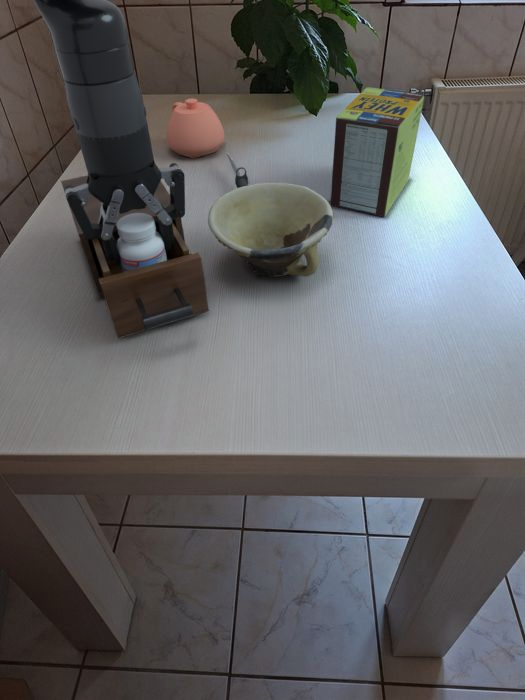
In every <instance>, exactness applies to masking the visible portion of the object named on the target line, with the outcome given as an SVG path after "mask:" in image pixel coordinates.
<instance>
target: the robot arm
mask: <svg viewBox="0 0 525 700" xmlns="http://www.w3.org/2000/svg"><path fill="white" fill-rule="evenodd" d="M33 2H34V4H35V6H36V8H37V10H38V11H39V13H40V15H41V17H42V19H43V20H44V22H45V24H46V26H47V27H48V29H49V32H50V35H51V39H52V41H53V42H52V43H53V47H54V51H55V54H56V56H57V61H58V64H59V68H60V73H61V76H62V78H63V82H64V88H65V93H66V94H65V95H66V100H67V105H68V109H69V112H70V116H71V121H72V124H73V127H74V129H75V133H76V136H77V140H78V143H79V146H80V150H81V155H82V157H83V161H84V164H85V167H86V168H85V169H86V172H87V175H88V178H87V182H86V184H83V185H80V186H77V187H73V186H70V185H68V186H66V187H65V188H64V189H63V192H64V195H65V198H66V201H67V204H68V203H69V204H68V206H69V205H70V207H71V209H72V212H73V214H74V216H75V218H76V220H77V222H78V224H79V226H80V228H81V230H82V232H83V234H84V236H85V238H86V239H88V240H91V239H93V238H99V239H101V240H102V242H103V245H104V249H105V252H106V255H107V257H108V259H109V260H110V261H113V260H114V262H115V264H118V263H121V261H120V258H119V254H118V250H117V247H116V243H115V239H114V237H113V235H112V232H113V228H114V225H115V224H116V222H117V218H118V214H119V213H120V214H122V213H127V212H128V211H130V210H133V209H144V208H146V207H145V206H148V207H149V208H150V209H151V210H152V212H153V213H154V214H155V215H156V216H157V217H158V218H159V219H158V224H159V229H160V234H161V236H162V238H163V241H164V245H165V250H166V251H168V250H172V248H171V245H174V243H175V238H174V233H173V227H172V222H173V220H174V219H176V218H177V217H179V218H181V219H182V218H183V217H185V215H186V188H185V187H186V184H185V180H186V179H185V172H184V171H183V170H182V168H181V167H180V166H179V164H178V163H176V162H172V163H170V164H169V166H168V167H167V166H165V167H158V165H157V164H156V162H155V158H154V151H153V147H152V146H153V145H152V141H151V137H150V136H151V135H150V130H149V125H148V124H149V123H148V120H147V108H146V106H145V104H144V99H143V98H144V97H143V93H142V91H141V87H140V84H139V81H138V78H137V74H136V69H135V64H134V60H133V53H132V49H131V43H130V38H129V33H128V29H127V24H126V20H125V17H124V14H123V12H122V10H121V9H120V8H119V7H118V6H117V4H115V3H113V2H111V1H110V0H33ZM162 179H163V180H164V182H165V184H166V185H167V186H168V187H169V194H170V205H169V206H167V207H166V208H164V207H163V205H162V204H161V203H160V202H159V200H158V199H157V198H156V196H155V195H154V193H155V191H156V189H157V187H158V185H159V183H160V181H161V180H162ZM161 182H162V181H161ZM89 194H91V195H93V196H94V197H95V198H97V199H98V200H99V201H101V202H102V203H101V208H100V217H99V221H98V224H97V223H91V222H90V220H89V218H88V216H87V214H86V212H85V210H84V206H86V205H87V203H88V201H87V197H88V195H89ZM70 207H69V208H70Z"/></svg>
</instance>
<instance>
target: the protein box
mask: <svg viewBox="0 0 525 700" xmlns="http://www.w3.org/2000/svg"><path fill="white" fill-rule="evenodd" d="M424 99H425V94H423V93H415V92H409V91H400V90H399V91H398V90H393V89H385V88H378V87H377V88H376V87H369V86H368V87H365V89H363V91H362V92H361V93H359V94H358V95H357V96H356V97H354V99H353V100H352V101H351V102H350V103H349V104H348V105H347V106H346V107H345V108H344V109H342V111H341V112H340V113H339V114H338V115H337V116H336V117H335V129H334V130H335V132H334V142H333V143H334V146H333V159H332V174H331V189H330V201H329V204H330V206H331V207H336V208H341V209H346V210H349V211H350V210H351V211H356V212H361V213H364V214H369V215H373V216H378V217H383V218H385V217H386V216H387V214H388V213H389V211H390V210H391V208H392V206H393V205H394V203H395V202H396V200H397V199H398V197H399V196H400V194H401V193H402V192H403V190H404V188H405V186H406V185H407V184H408V181H409V180H410V175H411V168H412V164H413V158H414V154H415V148H416V143H417V138H418V133H419V132H418V131H419V127H420V121H421V116H422V111H423V106H424V101H425V100H424Z"/></svg>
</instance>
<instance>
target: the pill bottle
mask: <svg viewBox="0 0 525 700" xmlns="http://www.w3.org/2000/svg"><path fill="white" fill-rule="evenodd" d="M116 226H117V230H118V235H119V236H120V238H119V239H118V241H117V245H116V247H117V250H118V254H119V258H120V261H121V263H120V265H121V268H122V272H126V271H129V270H133V269H137V268H141V267H145V266H148V265H152V264H156V263H160V262H163V261H167V256H166V250H165V245H164V241H163V238H162V236H161V235H160V234H159V233H158V232H156V226H155V222H154V219H153V217H152V216H150V215H148V214H145V213H133V214H129V215H126V216H124V217H122V218H120V219H119V220H118V221H117V224H116Z"/></svg>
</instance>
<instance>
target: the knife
mask: <svg viewBox="0 0 525 700" xmlns="http://www.w3.org/2000/svg"><path fill="white" fill-rule="evenodd" d="M226 155H227V158H228V161H229V163H230V165H231V168H232V170H233V172H234V174H235V177H234V184H235V186H236V189H237V188H240V187H244V186H248V185H249V177H248V175H247V169H246V168H245V167H243V166H240V167H238V166H237V165H236V162H235V160H234V158H233V157H232V156H231V154H230V153H229V152H228V151H226ZM240 170H244V173H243V175H242V173H241V172H240Z"/></svg>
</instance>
